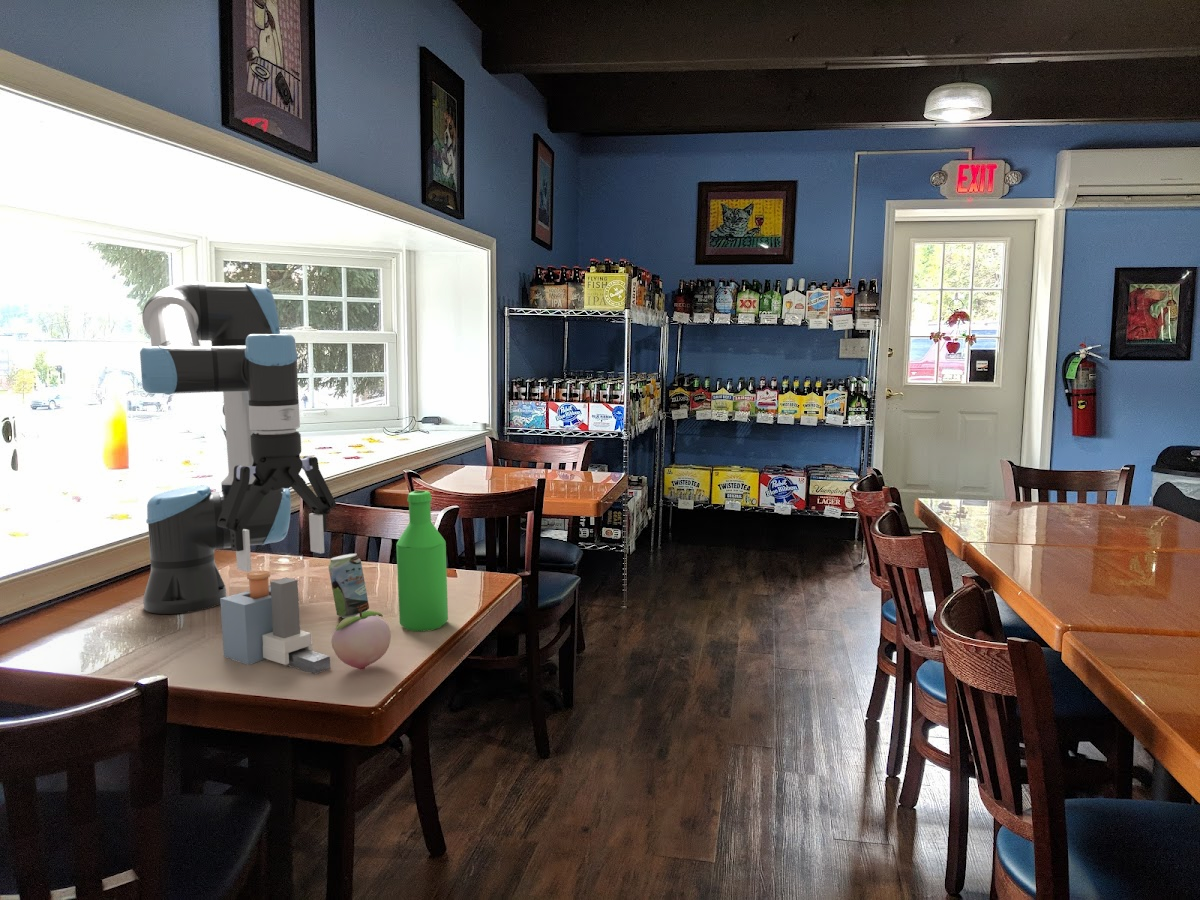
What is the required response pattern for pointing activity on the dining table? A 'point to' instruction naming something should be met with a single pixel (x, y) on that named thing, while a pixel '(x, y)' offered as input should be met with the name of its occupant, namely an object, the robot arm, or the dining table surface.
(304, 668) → the rail
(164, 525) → the robot arm
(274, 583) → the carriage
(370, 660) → the decorative fruit
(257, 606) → the housing
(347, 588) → the beverage can
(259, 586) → the plunger
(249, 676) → the dining table surface
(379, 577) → the dining table surface
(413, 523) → the bottle
